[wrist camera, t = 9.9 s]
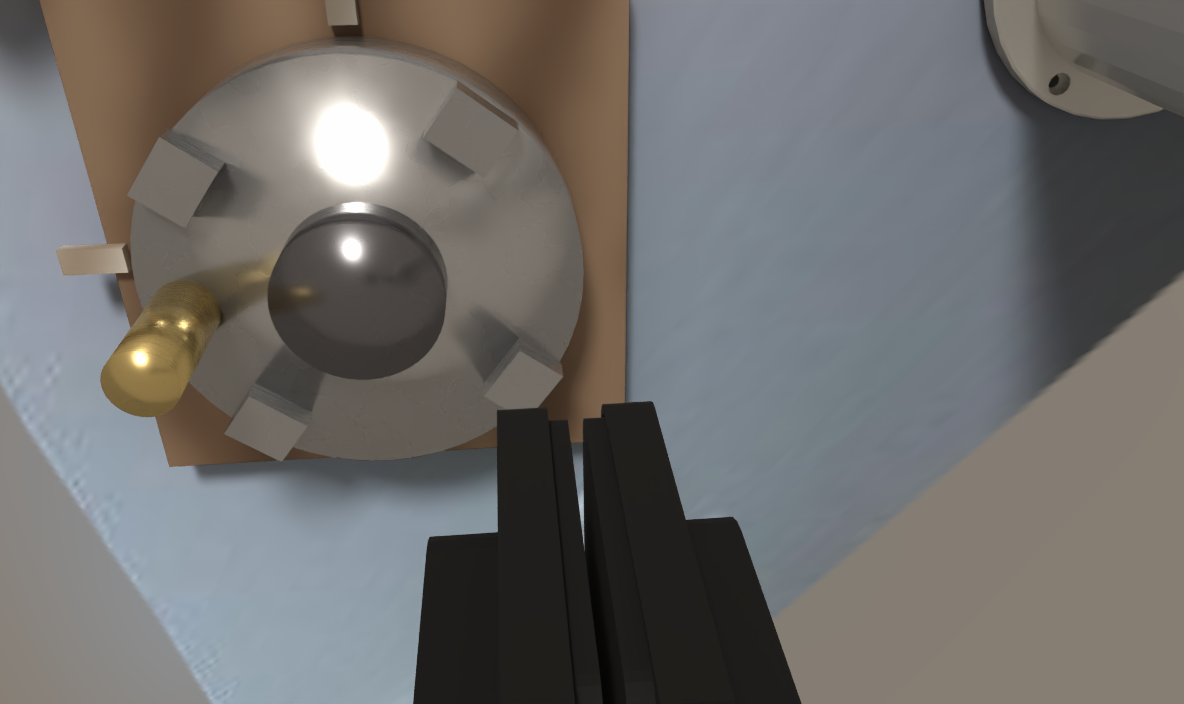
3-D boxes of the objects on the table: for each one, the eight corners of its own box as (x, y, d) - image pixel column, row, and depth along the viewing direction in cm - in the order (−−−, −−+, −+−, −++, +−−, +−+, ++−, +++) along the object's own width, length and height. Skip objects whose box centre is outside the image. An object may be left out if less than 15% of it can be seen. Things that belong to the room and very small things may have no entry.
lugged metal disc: (87, 76, 33) (-24, 148, 26) (541, 1, 33) (555, 53, 26) (236, 447, 41) (183, 580, 34) (602, 385, 41) (625, 504, 34)
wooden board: (622, -41, 35) (631, -31, 33) (619, 415, 45) (625, 446, 43) (6, -28, 33) (-27, -17, 31) (143, 442, 43) (125, 476, 41)
